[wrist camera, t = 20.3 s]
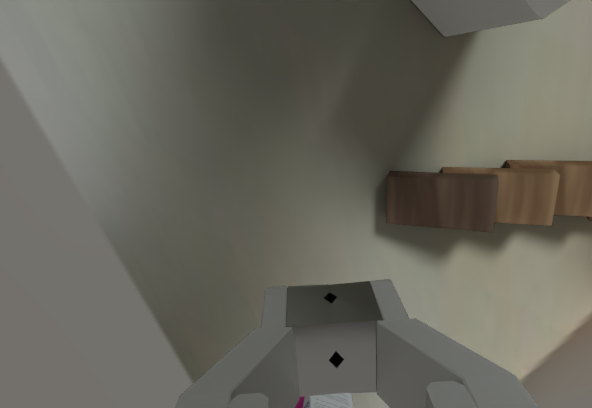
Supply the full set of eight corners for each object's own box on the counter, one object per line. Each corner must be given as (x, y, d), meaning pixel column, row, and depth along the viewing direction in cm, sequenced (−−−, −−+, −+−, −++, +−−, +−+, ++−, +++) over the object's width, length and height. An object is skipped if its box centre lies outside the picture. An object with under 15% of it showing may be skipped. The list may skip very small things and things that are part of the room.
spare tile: (386, 223, 40) (493, 232, 36) (386, 176, 39) (498, 181, 35) (389, 215, 42) (491, 223, 38) (390, 171, 40) (497, 174, 37)
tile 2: (440, 219, 40) (551, 225, 37) (442, 172, 38) (560, 175, 35) (439, 211, 42) (546, 217, 39) (442, 167, 40) (553, 168, 37)
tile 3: (504, 212, 40) (620, 217, 37) (510, 165, 38) (633, 167, 35) (500, 205, 42) (610, 209, 39) (506, 160, 40) (621, 161, 37)
